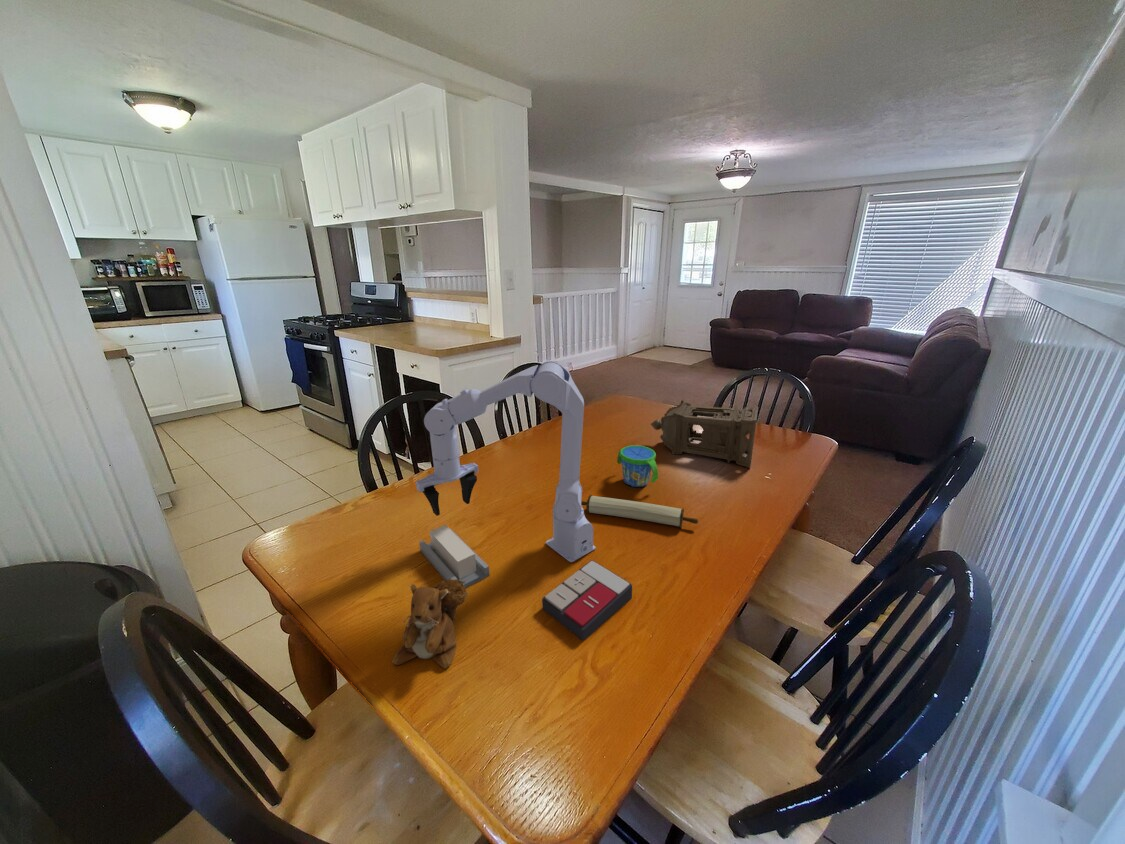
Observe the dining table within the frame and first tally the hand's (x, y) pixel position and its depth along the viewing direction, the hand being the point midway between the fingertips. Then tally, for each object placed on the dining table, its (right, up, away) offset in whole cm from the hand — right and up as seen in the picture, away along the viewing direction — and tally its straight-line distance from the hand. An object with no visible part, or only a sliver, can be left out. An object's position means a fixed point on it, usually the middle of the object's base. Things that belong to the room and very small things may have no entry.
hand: (451, 507), depth 101 cm
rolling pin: (+45, -6, +12) cm, 47 cm away
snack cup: (+49, +2, +31) cm, 58 cm away
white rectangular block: (+1, -11, -4) cm, 12 cm away
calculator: (+31, -16, -15) cm, 38 cm away
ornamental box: (+75, +10, +52) cm, 92 cm away
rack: (+1, -12, -4) cm, 12 cm away
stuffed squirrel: (+3, -19, -24) cm, 31 cm away
